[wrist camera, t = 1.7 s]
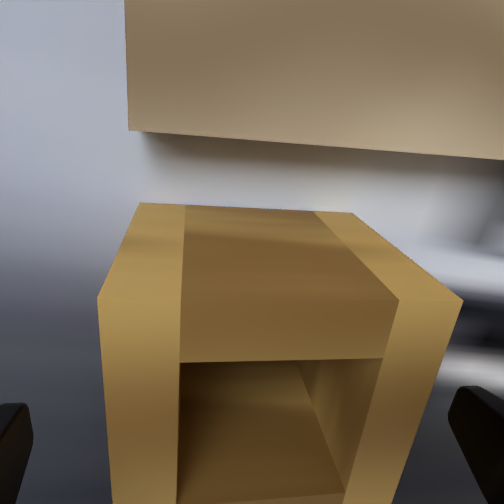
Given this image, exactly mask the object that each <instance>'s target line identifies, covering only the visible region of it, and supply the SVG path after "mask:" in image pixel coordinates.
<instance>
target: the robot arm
mask: <svg viewBox="0 0 504 504" xmlns="http://www.w3.org/2000/svg"><path fill="white" fill-rule="evenodd" d="M448 421H449V424H450V427H451V429H452V431H453V433H454V435H455V437H456V439H457V441H458V443H459V446H460V448H461V450H462V452H463V454H464V456H465V458H466V460H467V462H468V464H469V467H470V469H471V471H472V473H473V475H474V477H475V479H476V481H477V483H478V485H479V487H480V489H481V491H482V493H483V495H484V497H485V499H486V501H487V502H488V504H504V400H503V399H501V398H499V397H498V396H496V395H494V394H492V393H490V392H489V391H487V390H485V389H483V388H481V387H479V386H462V387H460V388H458V389H457V391H456V394H455V396H454V399H453V401H452V404H451V407H450V409H449V412H448ZM32 445H33V430H32V424H31V419H30V413H29V408H28V406H27V404H25V403H5V404H1V405H0V504H15V503H16V500H17V496H18V493H19V490H20V486H21V483H22V480H23V476H24V473H25V470H26V466H27V463H28V459H29V456H30V453H31V449H32Z"/></svg>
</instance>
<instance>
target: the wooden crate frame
mask: <svg viewBox="0 0 504 504" xmlns="http://www.w3.org/2000/svg"><path fill="white" fill-rule="evenodd" d="M462 303H463V300H462V299H461V298H459V297H458V296H457V295H456V294H454V293H453V292H452V291H450V290H449V289H448V288H447V287H445V286H444V285H443V284H442V283H440V282H439V281H438V280H436V279H435V278H434V277H433V276H431V275H430V274H429V273H428V272H426V271H425V270H424V269H422V268H421V267H420V266H419V265H417V264H416V263H415V262H414V261H412V260H411V259H410V258H409V257H407V256H406V255H405V254H403V253H402V252H401V251H400V250H398V249H397V248H396V247H395V246H393V245H392V244H391V243H389V242H388V241H387V240H386V239H384V238H383V237H382V236H381V235H379V234H378V233H377V232H375V231H374V230H373V229H372V228H370V227H369V226H368V225H367V224H365V223H364V222H363V221H361V220H360V219H359V218H358V217H356V216H355V215H354V214H353V213H342V212H321V211H300V210H279V209H259V208H238V207H217V206H196V205H176V204H155V203H139V206H138V208H137V210H136V212H135V215H134V217H133V219H132V221H131V223H130V226H129V228H128V230H127V232H126V235H125V237H124V239H123V241H122V244H121V246H120V248H119V250H118V253H117V255H116V257H115V259H114V261H113V264H112V266H111V268H110V270H109V273H108V275H107V277H106V279H105V282H104V284H103V286H102V288H101V291H100V293H99V295H98V297H97V304H98V317H99V331H100V344H101V357H102V370H103V383H104V396H105V409H106V423H107V436H108V449H109V462H110V475H111V488H112V502H113V504H391V503H392V500H393V497H394V494H395V491H396V488H397V486H398V483H399V480H400V477H401V474H402V472H403V469H404V466H405V463H406V460H407V458H408V455H409V452H410V449H411V446H412V444H413V441H414V438H415V435H416V432H417V430H418V427H419V424H420V421H421V418H422V415H423V413H424V410H425V407H426V404H427V401H428V399H429V396H430V393H431V390H432V387H433V385H434V382H435V379H436V376H437V373H438V371H439V368H440V365H441V362H442V359H443V356H444V354H445V351H446V348H447V345H448V342H449V340H450V337H451V334H452V331H453V328H454V326H455V323H456V320H457V317H458V314H459V312H460V309H461V306H462Z"/></svg>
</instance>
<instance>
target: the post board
mask: <svg viewBox="0 0 504 504" xmlns="http://www.w3.org/2000/svg"><path fill="white" fill-rule="evenodd" d="M124 3H125V33H126V64H127V95H128V126H129V130H132V131H144V132H157V133H169V134H182V135H195V136H207V137H220V138H232V139H245V140H258V141H270V142H283V143H295V144H308V145H321V146H333V147H346V148H359V149H371V150H384V151H396V152H409V153H422V154H434V155H447V156H459V157H472V158H485V159H497V160H504V0H124Z"/></svg>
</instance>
